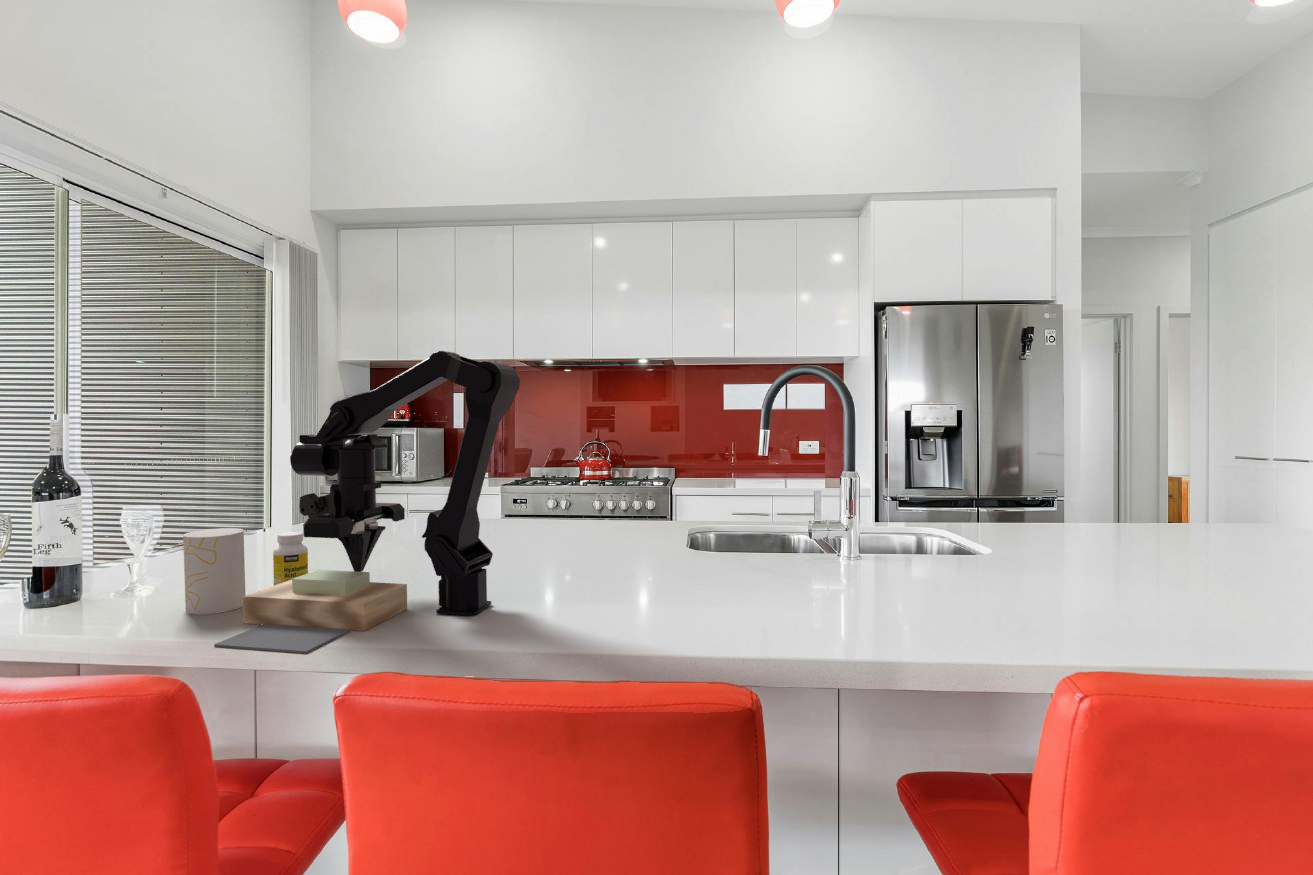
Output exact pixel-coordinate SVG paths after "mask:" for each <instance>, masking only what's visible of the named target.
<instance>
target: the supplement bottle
mask: <svg viewBox="0 0 1313 875" xmlns="http://www.w3.org/2000/svg"><path fill="white" fill-rule="evenodd" d="M303 541H304V536H303V532H302V531H287V532H280V533H278V534H277V543H278V546H275V547H274V548H273V551H272V557H273V558H272V560H273V561H272V562H273V564H272V565H273V567H272V568H273V586H275V585H277V584H280V583H283V582H286V581H289V580H292V579H293V578H296V577H299V576H302V575H305V574H308V573H309V557H308V556H309V555H308V554H309V550H308V546H307V545H305V544H303Z"/></svg>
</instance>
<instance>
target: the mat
mask: <svg viewBox="0 0 1313 875" xmlns="http://www.w3.org/2000/svg"><path fill="white" fill-rule="evenodd" d="M350 632H351V630H350V629H337V628H322V627H307V626H292V625H278V624H259V626H255V627H254V628H251V629H248V630H246V631H243V632H241V633H238V634H236V635H234V636H231V637H229V638H226V639H223V640H221V641H219V642H217V643H214V644H213V647H215V648H216V647H217V648H230V649H241V650H242V649H243V650H253V651H254V650H255V651H257V650H258V651H268V652H283V653H292V654H293V653H294V654H295V653H296V654H309V653H311V652H312V651H314V650H317V649H318V648H320V647H322V646H324V645H327V644H328V643H330V642H332V641H335V640H336V639H339V638H340V637H342V636H344V635H346V634H348V633H350Z"/></svg>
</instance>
